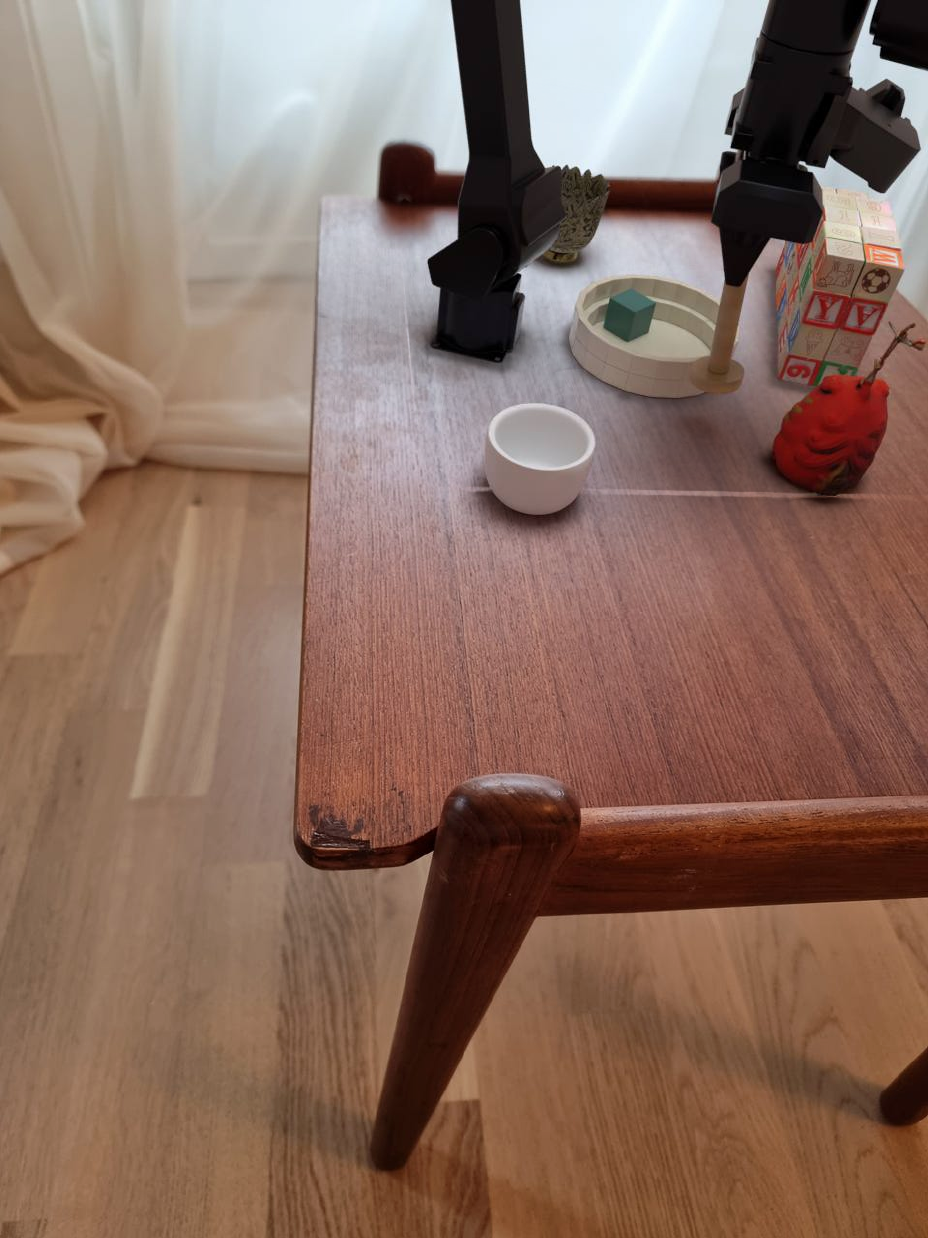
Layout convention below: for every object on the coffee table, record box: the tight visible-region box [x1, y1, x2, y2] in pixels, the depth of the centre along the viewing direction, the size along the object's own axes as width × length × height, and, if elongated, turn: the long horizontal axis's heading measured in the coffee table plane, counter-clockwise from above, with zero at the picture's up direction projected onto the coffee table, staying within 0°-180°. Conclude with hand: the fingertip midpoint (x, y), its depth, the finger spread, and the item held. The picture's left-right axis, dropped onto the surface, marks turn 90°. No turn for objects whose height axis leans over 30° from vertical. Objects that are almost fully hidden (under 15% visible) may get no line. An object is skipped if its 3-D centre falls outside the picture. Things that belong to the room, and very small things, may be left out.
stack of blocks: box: [775, 185, 906, 388], centre depth 89 cm, size 21×6×12 cm, turn 168°
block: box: [603, 289, 656, 342], centre depth 88 cm, size 3×3×3 cm
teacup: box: [484, 402, 596, 516], centre depth 71 cm, size 10×8×5 cm
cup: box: [540, 164, 611, 266], centre depth 95 cm, size 8×7×8 cm
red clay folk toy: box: [771, 320, 927, 497], centre depth 72 cm, size 8×7×15 cm
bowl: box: [568, 273, 741, 399], centre depth 86 cm, size 14×14×4 cm
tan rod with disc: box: [690, 273, 750, 395], centre depth 72 cm, size 4×4×12 cm
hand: (733, 278), depth 71 cm, fingers closed on tan rod with disc, 2 cm apart
